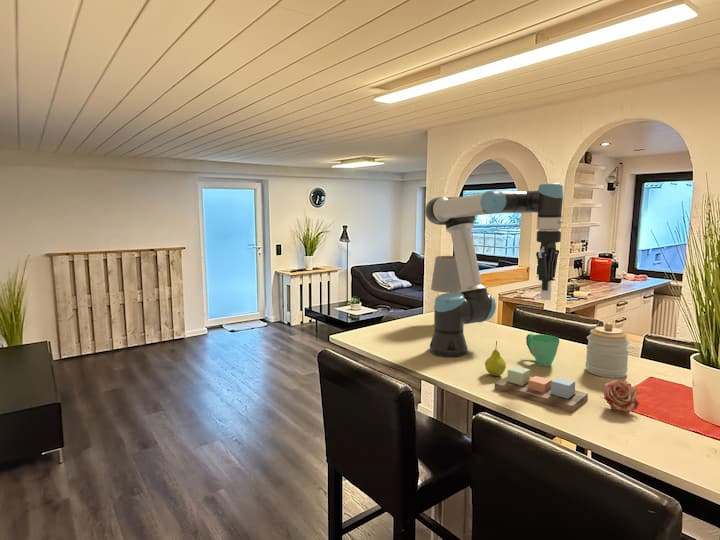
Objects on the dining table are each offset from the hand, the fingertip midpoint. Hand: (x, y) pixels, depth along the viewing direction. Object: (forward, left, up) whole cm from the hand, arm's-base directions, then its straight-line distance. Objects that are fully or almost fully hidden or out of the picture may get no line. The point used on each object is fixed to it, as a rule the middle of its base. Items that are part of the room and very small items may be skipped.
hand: (545, 299), depth 152 cm
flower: (+28, -13, -27) cm, 41 cm away
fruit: (-11, -13, -27) cm, 32 cm away
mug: (-6, +11, -27) cm, 29 cm away
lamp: (-63, +35, -27) cm, 77 cm away
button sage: (0, -18, -24) cm, 30 cm away
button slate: (+14, -18, -24) cm, 33 cm away
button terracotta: (+7, -18, -26) cm, 32 cm away
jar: (+15, +17, -27) cm, 35 cm away
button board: (+7, -18, -26) cm, 33 cm away
